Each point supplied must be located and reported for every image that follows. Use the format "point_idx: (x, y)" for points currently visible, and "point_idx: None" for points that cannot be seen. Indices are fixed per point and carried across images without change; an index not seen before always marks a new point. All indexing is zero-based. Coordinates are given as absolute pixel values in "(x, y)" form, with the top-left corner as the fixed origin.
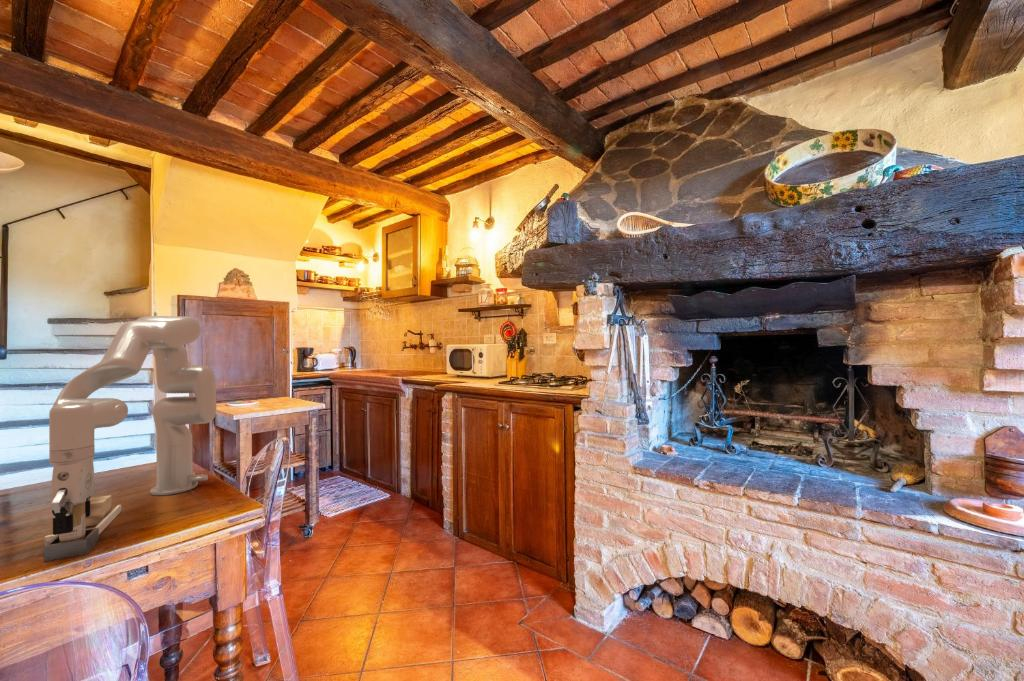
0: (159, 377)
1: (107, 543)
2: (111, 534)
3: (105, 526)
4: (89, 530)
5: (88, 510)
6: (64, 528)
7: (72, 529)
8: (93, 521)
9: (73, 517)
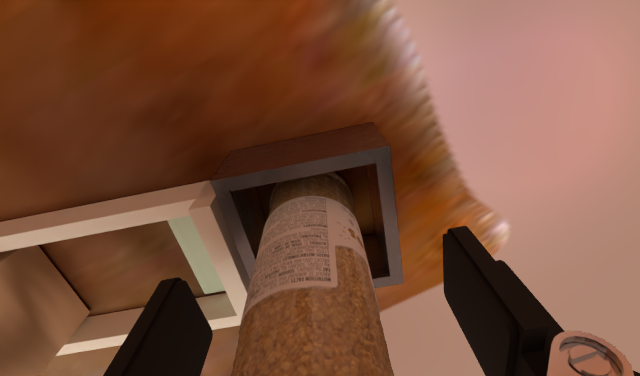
0: None
1: (267, 91)
2: (153, 136)
3: (68, 211)
4: (238, 207)
5: (165, 312)
6: (508, 270)
7: (465, 231)
8: (39, 279)
9: (377, 315)
